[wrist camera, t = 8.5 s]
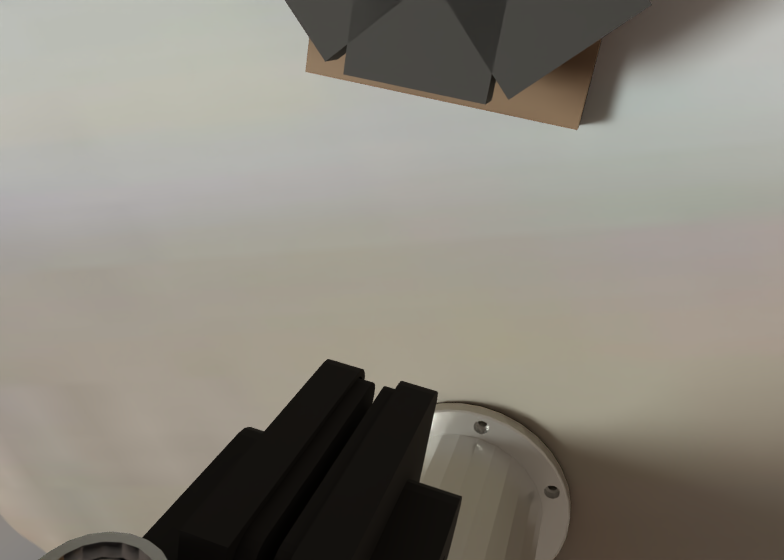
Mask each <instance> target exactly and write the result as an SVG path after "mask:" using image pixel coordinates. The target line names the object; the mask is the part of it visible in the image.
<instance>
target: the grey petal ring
mask: <svg viewBox="0 0 784 560" xmlns="http://www.w3.org/2000/svg"><path fill="white" fill-rule="evenodd" d="M285 1H286V3H287V4H288V6H289V7H290V9H291V10H292V12H293V13H294V15H295V17H296V18H297V20H298V21H299V23H300V24H301V26H302V27H303V29H304V30H305V32H306V33H307V35H308V36H309V38H310V39H311V41H312V42H313V44H314V45H315V47H316V49H317V50H318V52H319V53H320V55H321V56H322V58H323V59H324V61H325V62H326V61H332V60H337V59H339V58H340V57H342V56H343V55H344V54H346V57H345V64H344V72H343V74H344V75H348V76H353V77H358V78H362V79H367V80H372V81H377V82H381V83H386V84H391V85H395V86H400V87H405V88H410V89H414V90H419V91H424V92H428V93H433V94H438V95H442V96H447V97H452V98H457V99H461V100H466V101H471V102H475V103H480V104H485V105H486V104H487V103H489V102H490V101H492V97H493V92H494V88H495V83H496V81H497V83H498V84H499V86H500V87H501V89H502V91H503V92H504V94H505V95H506V97H507V99H508V100H509V99H511V98H512V97H514V96H515V95H517V94H518V93H520V92H521V91H523V90H524V89H526V88H527V87H529V86H530V85H532V84H533V83H535V82H536V81H538V80H539V79H541V78H542V77H544V76H545V75H547V74H548V73H550V72H551V71H553V70H554V69H556V68H557V67H559V66H560V65H562V64H563V63H565V62H566V61H568V60H569V59H571V58H572V57H574V56H575V55H577V54H578V53H580V52H581V51H583V50H584V49H586V48H587V47H589V46H591V45H592V44H594V43H595V42H597V41H598V40H600V39H601V38H603V37H604V36H606V35H607V34H609V33H610V32H612V31H613V30H615V29H616V28H618V27H619V26H621V25H622V24H624V23H625V22H627V21H628V20H630V19H631V18H633V17H634V16H636V15H637V14H639V13H640V12H642V11H643V10H645V9H646V8H648V7H649V6H651V5H652V4H651V2H650V0H285Z"/></svg>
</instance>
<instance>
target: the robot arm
mask: <svg viewBox="0 0 784 560" xmlns="http://www.w3.org/2000/svg"><path fill="white" fill-rule="evenodd" d="M364 379H365V372H364V370H363V369H360V368H357V367H354V366H350V365H347V364H344V363H340V362H337V361H333V360H330V359H327V360H326V361H325V362H324V363H323V364H322V365H321V366H320V367H319V369H318V370H317V371H316V372H315V373H314V374H313V376H312V377H311V378H310V379H309V380H308V381H307V383H306V384H305V385H304V386H303V387H302V388H301V389H300V391H299V392H298V393H297V394H296V395H295V396H294V398H293V399H292V400H291V401H290V402H289V403H288V405H287V406H286V407H285V408H284V409H283V410H282V411H281V413H280V414H279V415H278V416H277V417H276V418H275V420H274V421H273V422H272V423H271V424H270V425H269V427H268V428H267V429H266V430H265V431H261V430H258V429H255V428H252V427H247V428H244V429H243V430H242V431H241V432H239V433H238V434H237V435H236V436H235V438H234V439H233V440H232V441H231V442H230V443H229V444H228V445H227V446H226V447H225V448H224V449H223V451H222V452H221V453H220V454H219V455H218V456H217V457H216V458H215V459H214V460H213V461H212V463H211V464H210V465H209V466H208V467H207V468H206V469H205V470H204V471H203V472H202V473H201V474H200V476H199V477H198V478H197V479H196V480H195V481H194V482H193V483H192V484H191V485H190V486H189V488H188V489H187V490H186V491H185V492H184V493H183V494H182V495H181V496H180V497H179V498H178V499H177V501H176V502H175V503H174V504H173V505H172V506H171V507H170V508H169V509H168V510H167V511H166V512H165V514H164V515H163V516H162V517H161V518H160V519H159V520H158V521H157V522H156V523H155V524H154V526H153V527H152V528H151V529H150V530H149V531H148V532H147V533H146V534H145V535H144V536H143V537H142V538H141V537H138V536H136V535H133V534H128V533H118V532H104V533H94V534H88V535H85V536H82V537H79V538H75V539H72V540H69V541H67V542H65V543H64V544H62V545H60V546H58V547H57V548H55V549H53V550H51V551H50V552H48V553H47V554H45V555H44V556H43V557H41V558H40V559H39V560H554V558H555V557H556V556H557V555H558V553H559V552H560V550H561V548H562V546H563V544H564V541H565V539H566V537H567V532H568V527H569V522H570V510H571V501H570V494H569V488H568V484H567V481H566V479H565V476H564V474H563V471H562V468H561V467H560V465H559V464H558V462H557V460H556V459H555V457H554V456H553V454H552V452H551V451H550V450H549V449H548V448H547V447H546V446H545V445H544V443H543V442H542V441H541V440H540V439H539V438H538V437H537V436H536V435H535V434H533V433H532V432H531V431H529V430H528V429H527V428H525V427H524V426H523V425H522V424H520V423H518V422H517V421H515V420H513V419H511V418H509V417H507V416H505V415H504V414H502V413H499V412H496V411H493V410H490V409H487V408H484V407H481V406H475V405H469V404H463V403H440V404H436V403H437V396H438V392H437V391H434V390H431V389H427V388H424V387H421V386H417V385H414V384H411V383H407V382H404V381H400V383H399V384H398V385H397V387H396V389H393V388H389V387H386V386H384V387H383V388H382V390H381V391H380V393H379V394H378V396H377V397H376V399H375V400H374V402H373V398H374V392H375V384H374V383H373V382H369V381H366V380H364ZM372 403H373V404H372ZM481 421H484V422H486V423H483V422H481Z"/></svg>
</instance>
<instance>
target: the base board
mask: <svg viewBox="0 0 784 560" xmlns="http://www.w3.org/2000/svg"><path fill="white" fill-rule="evenodd" d="M601 40H602V38H601V39H600V40H598V41H597V42H595V43H594V44H592V45H591V46H589V47H587V48H586V49H584V50H583V51H581V52H580V53H578V54H577V55H575V56H574V57H572V58H571V59H569V60H568V61H566V62H565V63H563V64H562V65H560V66H559V67H557V68H556V69H554V70H553V71H551V72H550V73H548V74H547V75H545V76H544V77H542V78H541V79H539V80H538V81H536V82H535V83H533V84H532V85H530V86H529V87H527V88H526V89H524V90H523V91H521V92H520V93H518V94H517V95H515V96H514V97H512V98H511V99H509V100H508V99H507V97H506V95H505V94H504V92H503V91H502V89H501V87H500V86H499V84H498V83H497V81H496V83H495V88H494V92H493V97H492V101H490V102H489V103H487V104H486V105H485V104H480V103H475V102H471V101H466V100H461V99H457V98H452V97H447V96H442V95H438V94H433V93H428V92H424V91H419V90H414V89H410V88H405V87H400V86H395V85H391V84H386V83H381V82H377V81H372V80H367V79H362V78H358V77H353V76H348V75H344V74H343V72H344V64H345V57H346V54H344V55H343V56H342V57H340V58H339V59H337V60H332V61H326V62H325V61H324V59H323V58H322V56H321V55H320V53H319V52H318V50H317V49H316V47H315V45H314V44H313V42H312V41H311V39H310V38H309V45H308V54H307V63H306V72H309V73H314V74H318V75H323V76H328V77H332V78H337V79H342V80H346V81H351V82H356V83H360V84H365V85H370V86H374V87H379V88H384V89H388V90H393V91H398V92H402V93H407V94H412V95H416V96H421V97H426V98H430V99H435V100H440V101H444V102H449V103H454V104H458V105H463V106H468V107H472V108H477V109H482V110H486V111H491V112H496V113H500V114H505V115H510V116H514V117H519V118H524V119H528V120H533V121H538V122H542V123H547V124H552V125H556V126H561V127H566V128H570V129H575V130H577V129H578V127H579V124H580V120H581V116H582V113H583V109H584V105H585V101H586V97H587V93H588V90H589V86H590V82H591V78H592V74H593V71H594V67H595V63H596V59H597V55H598V51H599V48H600V44H601Z"/></svg>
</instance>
